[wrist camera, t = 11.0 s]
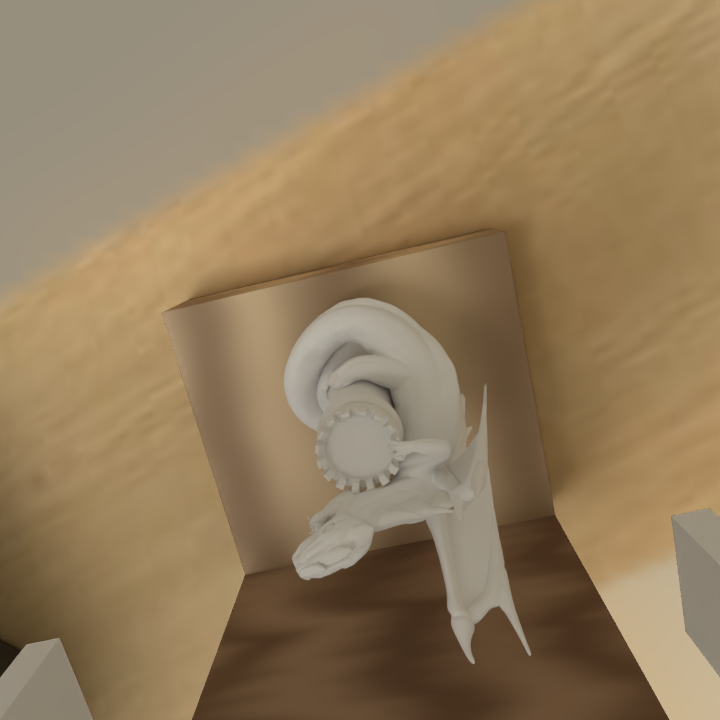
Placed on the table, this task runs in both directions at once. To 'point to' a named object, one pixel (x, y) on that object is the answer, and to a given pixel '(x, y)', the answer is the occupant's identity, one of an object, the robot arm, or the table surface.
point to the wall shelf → (400, 543)
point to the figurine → (397, 453)
